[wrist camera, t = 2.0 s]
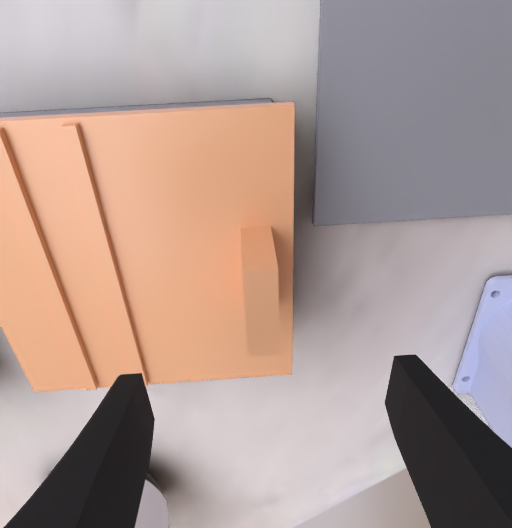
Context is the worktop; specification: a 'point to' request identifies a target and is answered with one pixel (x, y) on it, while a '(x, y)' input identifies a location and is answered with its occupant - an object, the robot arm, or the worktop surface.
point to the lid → (148, 244)
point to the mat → (413, 110)
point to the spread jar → (152, 506)
